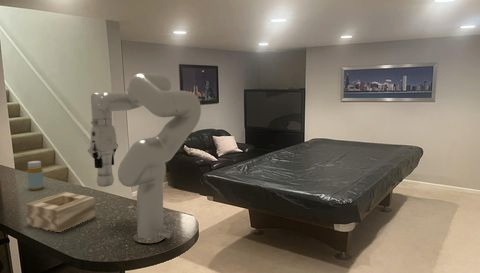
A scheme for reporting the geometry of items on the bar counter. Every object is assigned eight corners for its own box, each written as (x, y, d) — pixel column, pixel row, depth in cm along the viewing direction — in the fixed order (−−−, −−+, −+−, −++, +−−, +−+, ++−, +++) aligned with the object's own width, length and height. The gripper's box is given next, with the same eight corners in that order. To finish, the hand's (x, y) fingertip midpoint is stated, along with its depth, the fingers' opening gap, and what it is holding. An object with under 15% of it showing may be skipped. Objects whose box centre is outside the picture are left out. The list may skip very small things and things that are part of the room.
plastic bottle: (97, 185, 143) (94, 138, 141) (114, 183, 146) (111, 137, 143) (96, 189, 137) (93, 140, 135) (114, 187, 140) (111, 139, 137)
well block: (95, 217, 148) (94, 197, 146) (59, 233, 131) (57, 211, 130) (65, 210, 154) (64, 191, 153) (27, 225, 138) (25, 203, 137)
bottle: (30, 187, 188) (28, 160, 186) (44, 186, 190) (43, 160, 188) (27, 191, 182) (25, 163, 180) (41, 190, 184) (40, 163, 182)
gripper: (92, 125, 129) (95, 171, 131) (124, 121, 144) (126, 163, 147) (78, 124, 132) (80, 169, 134) (110, 121, 147) (112, 161, 150)
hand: (104, 165), depth 140 cm, fingers closed on plastic bottle, 6 cm apart
